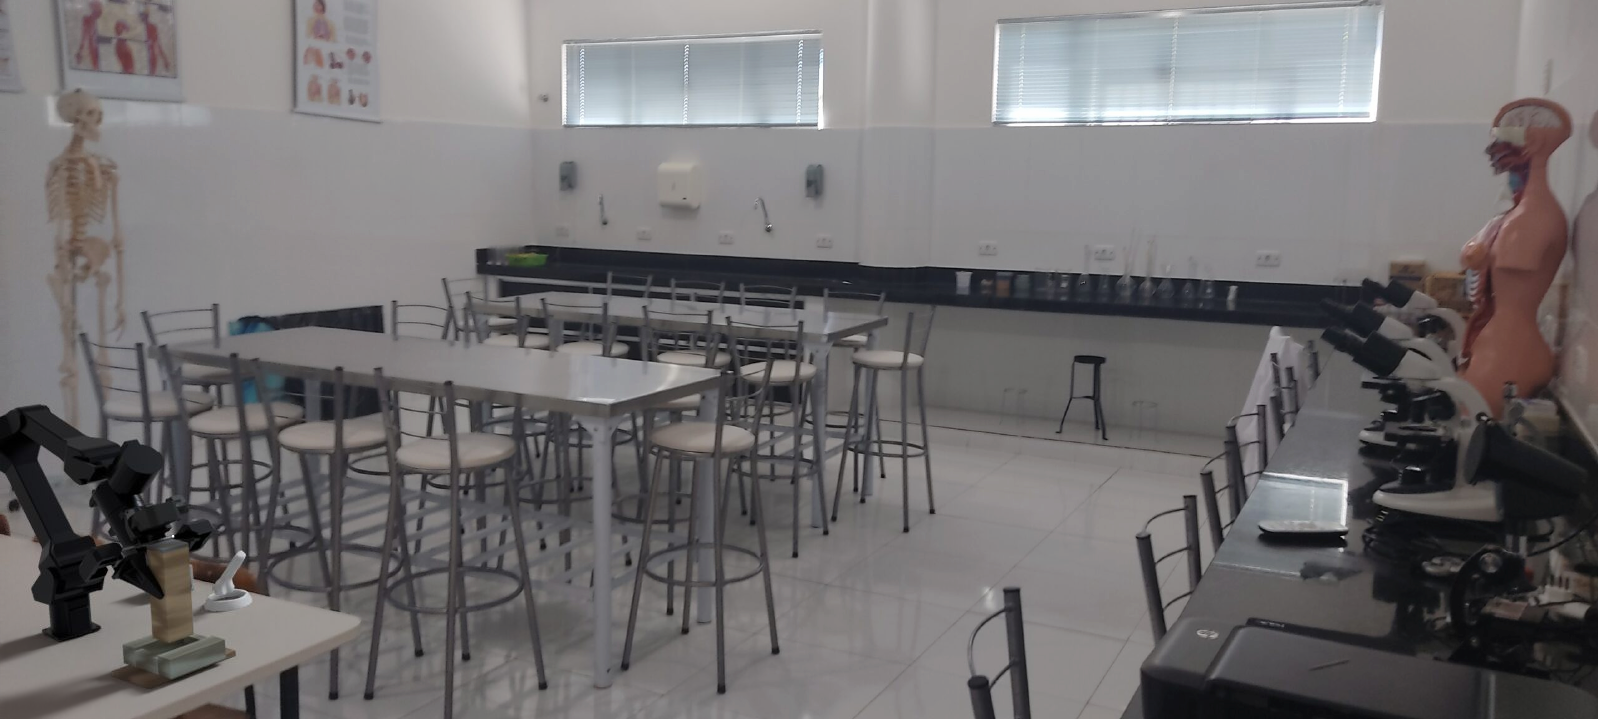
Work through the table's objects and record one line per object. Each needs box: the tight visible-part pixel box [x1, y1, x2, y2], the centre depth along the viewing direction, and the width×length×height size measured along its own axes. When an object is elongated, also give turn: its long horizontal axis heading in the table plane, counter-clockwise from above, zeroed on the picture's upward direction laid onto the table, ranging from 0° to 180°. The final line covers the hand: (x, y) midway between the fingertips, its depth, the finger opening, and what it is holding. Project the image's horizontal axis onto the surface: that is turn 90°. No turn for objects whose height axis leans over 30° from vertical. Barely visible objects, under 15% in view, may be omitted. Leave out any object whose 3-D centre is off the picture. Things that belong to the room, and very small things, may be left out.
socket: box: [111, 632, 237, 690], centre depth 174 cm, size 12×14×4 cm
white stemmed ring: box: [203, 550, 253, 613], centre depth 199 cm, size 8×12×7 cm
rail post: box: [146, 539, 195, 643], centre depth 172 cm, size 4×4×15 cm
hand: (176, 593), depth 172 cm, fingers closed on rail post, 4 cm apart
